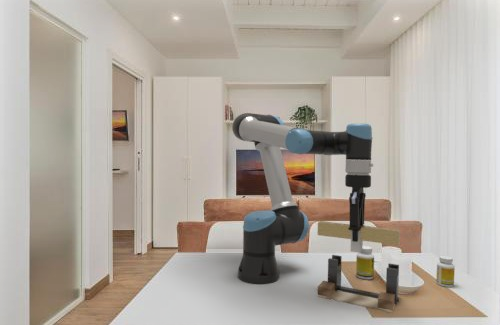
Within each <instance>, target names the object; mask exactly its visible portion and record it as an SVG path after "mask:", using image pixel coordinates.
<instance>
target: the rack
mask: <svg viewBox="0 0 500 325" xmlns="http://www.w3.org/2000/svg"><path fill="white" fill-rule="evenodd" d="M399 271H400V265H399V264H396V263H388V267H386V280H385V281H386V282H385V284H386V285H385V292H386V293H391V294H395V305H397V303H399V302H400V297H399V282H400V280H399V279H400V278H399V277H400V276H399V275H400V272H399ZM327 281H328V282H333V283H335V291H341V292H346V293H351V294H356V295H361V296H366V297H371V298H376V299H378V297H379V295H380V293H378V292H373V291H367V290H363V289H358V288H352V287H348V286H347V287H346V286H342V256H341V255H338V254H337V255H336V254H332V255H331V258H328V259H327Z"/></svg>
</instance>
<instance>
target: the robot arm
mask: <svg viewBox="0 0 500 325" xmlns="http://www.w3.org/2000/svg"><path fill="white" fill-rule="evenodd" d="M231 127H232V132H233V135H234V136H235V137H236V138H237V139H238V140H241V141H243V142H252V143H253V145H254V148H255V149H256V150H257V151H258V152H259V154H260V158H261V163H262V168H263V172H264V176H265V180H266V186H267V189H268V190H267V191H268V194H269V199H270V204H271V208H270V209H269V210H265V209H264V210H257V211H256V210H255V211H252V212H249V213H247V214H246V215H245V217H244V218H243V225H242V229H243V233H242V234H243V239H242V242H243V243H242V244H243V246H242V256H241V257H242V258H241V260H240V263H239V266H238V268H237V269H238V270H237V278H239V280H240V281H243V282H246V283H250V284H258V285H259V284H260V285H261V284H269V283H274V282H276V281H278V280H279V279H280V269H279V266H278V262H277V259H276V246H281V245H287V244H295V243H297V242H302V241H303V240H304V239H305V238H306V237H307V234H308V232H309V228H310V222H309V219H308V217H307V215H306V214H305V213H304V212H303V211H301V210H300V208H299V205H298V204H297V203H295V202H294V200H293V195H292V191H291V188H290V183H289V180H288V174H287V171H286V166H285V162H284V158H283V155H282V154H283V153H282V150H281V148H282V149H286V150H288V152H290V153H292V154H297V155H322V156H341V155H344V156H345V173H346V175H345V180H344V181H345V187H348V188H351V192H350V193H349V198H348V200H349V202H348V203H349V224H350V226H349V228H348V230H351V239H350V252H354V253H358V252H359V253H360V250H362V247H363V246H364V245H363V242H364V241H361V240H360V238H361V231H360V225H361V226H366V225H365V211H366V209H365V208H366V205H365V204H366V196H367V195H366V193H365V191H364V188H365V189H368V188H370V187H372V186H371V185H372V175H370V174H371V173H372V168H373V167H374V164H373V163H372V149H373V148H372V146H373V144H372V143H373V131H372V130H373V129H372V126H371V124H369V123H359V122H358V123H349V124H347V125H346V129H345V130H344V131H325V130H324V131H322V130H314V129H306V128H301V127H300V128H299V127H293V126H290V125H289V126H288V125H285V124H284V121H283V120H282V119H281V118H280V117H278V116H275V115H271V114H260V113H251V112H246V113H244V112H243V113H241V114H239V115H237V117H235V119H234V120H233V122H232V126H231Z"/></svg>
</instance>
